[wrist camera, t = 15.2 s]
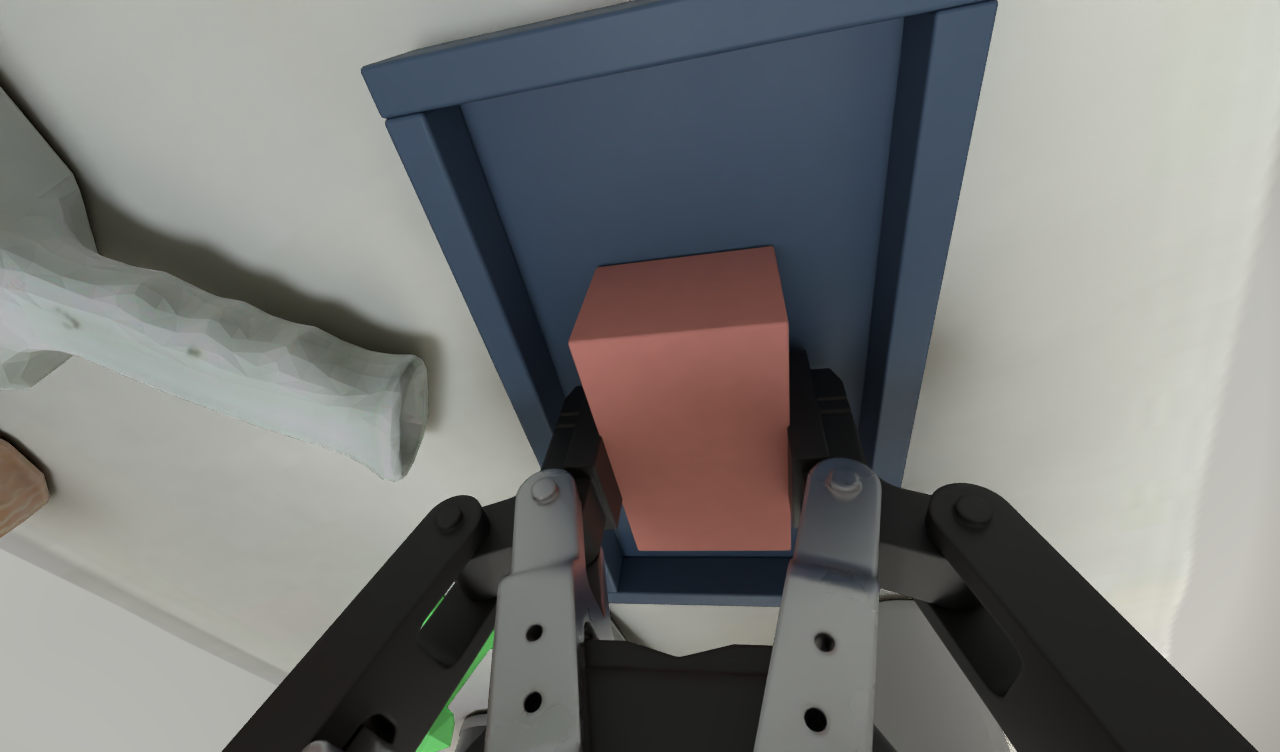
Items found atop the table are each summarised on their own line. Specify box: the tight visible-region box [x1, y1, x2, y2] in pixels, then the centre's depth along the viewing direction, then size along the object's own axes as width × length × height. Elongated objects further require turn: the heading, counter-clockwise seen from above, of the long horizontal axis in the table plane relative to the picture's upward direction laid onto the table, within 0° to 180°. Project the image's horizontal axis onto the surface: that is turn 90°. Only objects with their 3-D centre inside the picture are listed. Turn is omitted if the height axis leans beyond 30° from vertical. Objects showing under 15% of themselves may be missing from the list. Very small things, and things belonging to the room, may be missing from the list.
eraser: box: [568, 246, 791, 551], centre depth 12 cm, size 4×7×3 cm, turn 11°
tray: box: [361, 0, 998, 607], centre depth 14 cm, size 18×10×2 cm, turn 11°
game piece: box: [416, 597, 494, 752], centre depth 24 cm, size 4×4×6 cm
